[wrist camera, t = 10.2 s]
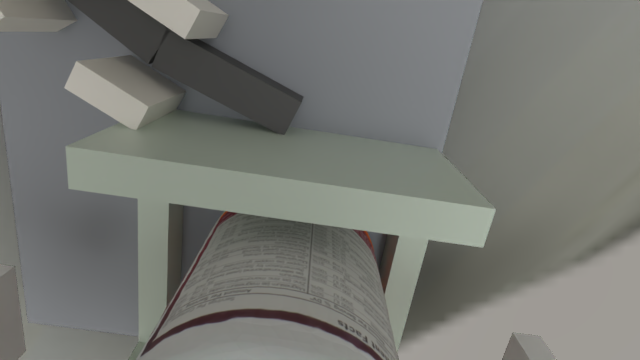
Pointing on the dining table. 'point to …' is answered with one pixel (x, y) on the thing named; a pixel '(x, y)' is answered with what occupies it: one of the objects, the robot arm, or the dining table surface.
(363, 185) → the end holder
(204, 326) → the pill bottle
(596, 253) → the dining table surface
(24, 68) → the board
